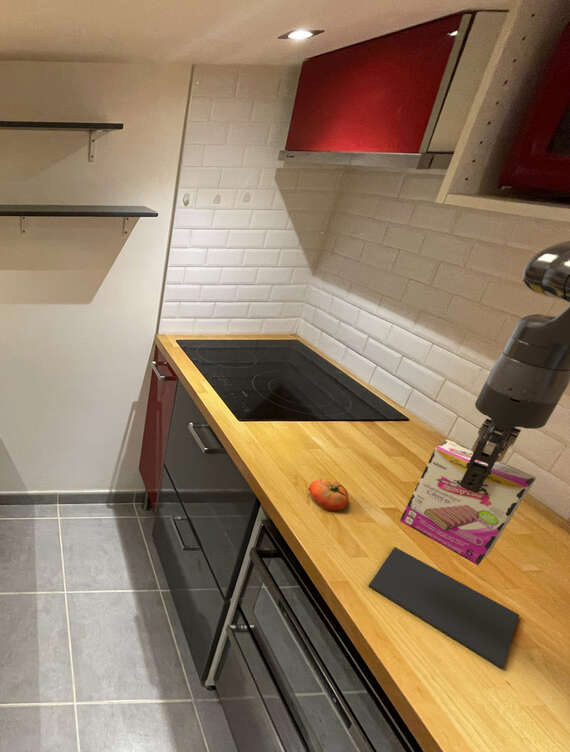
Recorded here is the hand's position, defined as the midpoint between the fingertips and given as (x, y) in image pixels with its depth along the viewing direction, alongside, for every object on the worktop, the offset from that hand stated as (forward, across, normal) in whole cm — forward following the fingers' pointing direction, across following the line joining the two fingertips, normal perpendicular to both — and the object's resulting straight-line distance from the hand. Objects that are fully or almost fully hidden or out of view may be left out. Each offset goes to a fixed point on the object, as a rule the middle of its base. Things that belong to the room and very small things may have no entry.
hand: (472, 480), depth 71 cm
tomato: (+25, -12, -20) cm, 34 cm away
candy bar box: (+13, 0, 0) cm, 13 cm away
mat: (+25, -1, +4) cm, 25 cm away
